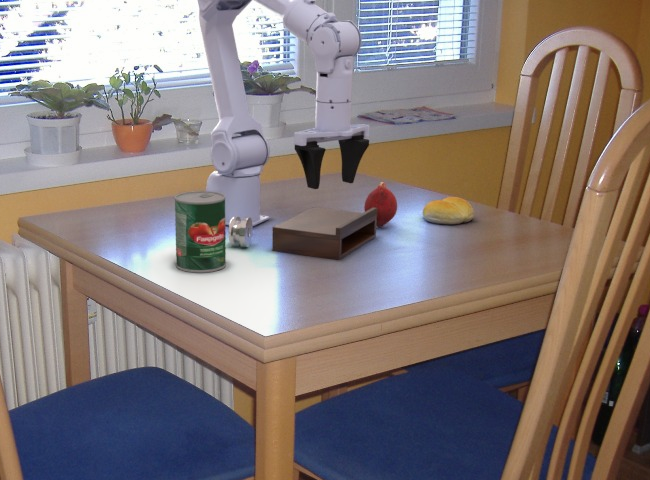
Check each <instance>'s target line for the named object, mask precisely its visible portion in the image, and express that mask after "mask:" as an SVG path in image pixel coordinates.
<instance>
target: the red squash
mask: <svg viewBox="0 0 650 480" xmlns="http://www.w3.org/2000/svg"><path fill="white" fill-rule="evenodd" d="M386 186H387V184H386V183H385V182H384V181H381V182H379V183H378V186H377V187H376V188H375V189H373V190H372V191H371V192H370V193H368V195H367V197H366V199H365V201H364V207H363V208H364V212H366V211H367V210H369V209H371V208H373V207H375V208H377V223H376V228H382V227H384V226H385V225H386V224H388V223H389V222H390V221H391V220H392V219H394V218H395V216H396V214H397V211H398V202H397V201H398V200H397V198H396V196H395V194H394V193H393V192H392V191H391V190H390V189H388V188H387V187H386Z"/></svg>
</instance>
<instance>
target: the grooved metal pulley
mask: <svg viewBox="0 0 650 480" xmlns="http://www.w3.org/2000/svg"><path fill="white" fill-rule="evenodd" d="M253 229H254V226H253V224H252V219H251V218H250V217H243V218H242V220H241V219H240V217H239V216H235V217H233V218H232V219H231V221H230V224H229V225H228V231H227V232H228V234H227V235H228V237H227V238H228V241H229V244H230V246H231V247H238V246H239V245H240V247H241V248H249V247H250V245H251V243H252V240H253V231H254V230H253Z"/></svg>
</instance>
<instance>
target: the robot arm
mask: <svg viewBox="0 0 650 480" xmlns="http://www.w3.org/2000/svg"><path fill="white" fill-rule="evenodd" d="M252 1H254V2H256V3H258V4H259V5H261V6H262V7H264V8H265V9H268V10H269V11H270V12H273V13H274V14H276V15H277V16H279V17H280V18H281V19H282V25H283V27H284V29H285V30H286V31H288V32H289V33H291V34H292V35H293V36H295V38H297V39H299V40H300V41H301V42H303V43H305V44H306V45H307V46H309V49H310V50H309V51H310V53H311V55H312V57H313V59H314V69H315V71H316V88H315V120H314V127H313V128H309V129H305V130H304V129H303V130H300V131H294V136H293V145H294V151H295V153H296V154H297V156H298V158H299V161H300V164H301V166H302V168H303V172H304V176H305V181H306V186H307V188H309V189H313V190H318V189H319V188H320V183H321V170H322V169H321V168H322V165H323V159H324V157H325V153H326V151H327V148H325V147H321V146H320V145H319V144H320V143H328V142H335V141H338V144H339V145H338V146H339V150H340V156H341V180H342V182H343V183H347V184H354V181H355V179H356V175H357V172H358V168H359V166H360V163H361V160H362V158H363V156H364V155H365V152H366V151H367V149H368V148H369V146H370V139H367V138H369V137H370V124H364V123H358V124H356V123H355V124H352V123H351V121H352V101H353V98H352V97H353V77H354V76H353V75H354V57H356V56H357V55H358V54H359V52H360V50H361V47H362V43H363V41H362V40H363V39H362V38H363V37H362V33H361V31H360V29H359V27H358V26H357V25H356V24H355V23H354V21H353V20H349V19H345V20H344V19H343V20H341V21H340V20H339V19H338V18H337V17H336V16H337V15H336V14H335V13H334V12H327V11H326V10H324V9H323V8H322V7H320V6H319V5H317V4H316V2H317V0H197V3H198V9H199V10H198V20H199V26H200V32H201V36H202V41H203V47H204V50H205V57H206V61H207V66H208V71H209V76H210V81H211V86H212V91H213V96H214V101H215V106H216V110H217V115H218V123H217V125H216V126H215V127H214V128H213V130H212V131H211V132H210V141H211V148H210V160H211V163H212V166H213V167H214V169H215V170H214V171H213V172H211V173H210V174H209V176H208V178H207V181H206V185H205V186H206V187H205V191H212V192H218V193H222V194H224V195H225V196H226V198H225V218H226V219H225V223H226V224H225V226H229V224H230V221H231V219H232V218H233V217H235V216H239V217H240V219H241V220H242V218H243V217H250V218H251V219H252V224H253V227H255V226H257V225H259V224H261V223H264V222H265V221H268V220H269V219H270V216H268V215H261V173H262V172H264V167H265V166H266V165H267V163H268V162H269V159H270V157H271V148H270V143H269V142H268V139H267V138H266V136H265V134H264V132H263V126H262V124H261V123H260V122H259V121H258V120H256V119H255V118H254V117H252V115H251V114H250V109H249V103H248V100H247V95H246V94H247V93H246V89H245V83H244V79H243V73H242V69H241V64H240V59H239V54H238V53H239V52H238V49H237V43H236V38H235V33H234V27H233V23H234V22H235V20H236V18H237V16H239V15H241V13H242V12H243V11H244V10H245V9H246V8H247V6H248V5H250V3H252ZM234 135H236V136H234Z"/></svg>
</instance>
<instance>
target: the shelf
mask: <svg viewBox="0 0 650 480" xmlns="http://www.w3.org/2000/svg"><path fill="white" fill-rule="evenodd" d="M376 223H377V208H375V207H373V208H371V209H369V210H367V211H366V212H365V211H364V212H357V211H350V210H349V211H348V210H339V209H332V208H331V209H330V208H322V207H311V208H309V209H307V210H305V211H303V212H301V213H299V214H296V215H294V216H293V217H290V218H288V219H287V220H284V221H282V222H280V223H278V224H276V225H273V226H272V235H271V236H272V239H271V242H272V243H271V245H272V249H271V251H272V252H279V253H285V254H286V253H287V254H293V255H299V256H300V255H301V256H308V257H315V258H322V259H330V260H336V261H339V260H342V259H343V258H345V257H346V256H348V255H350V254H351V253H353V252H355V251H356V250H358V249H359V248H361V247H363V246H364V245H366V244H368V243H369V242H371V241H372V240H374V239H375V238H376V237H377V226H376Z"/></svg>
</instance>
